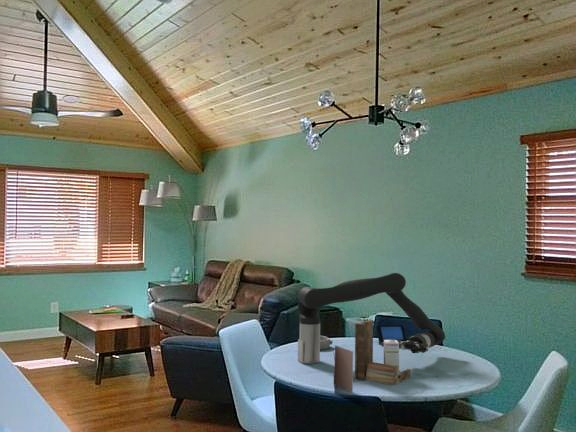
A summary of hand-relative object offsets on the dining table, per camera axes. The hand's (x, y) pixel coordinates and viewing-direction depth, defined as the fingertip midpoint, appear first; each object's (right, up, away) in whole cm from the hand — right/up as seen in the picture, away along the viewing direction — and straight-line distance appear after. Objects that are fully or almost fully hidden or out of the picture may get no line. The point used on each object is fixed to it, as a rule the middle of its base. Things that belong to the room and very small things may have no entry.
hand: (403, 349), depth 229 cm
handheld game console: (+6, -11, +51) cm, 53 cm away
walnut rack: (-11, -9, -11) cm, 18 cm away
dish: (-34, -10, +43) cm, 56 cm away
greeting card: (-29, -9, -27) cm, 40 cm away
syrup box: (-7, -9, -9) cm, 15 cm away
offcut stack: (-11, -9, -15) cm, 21 cm away
